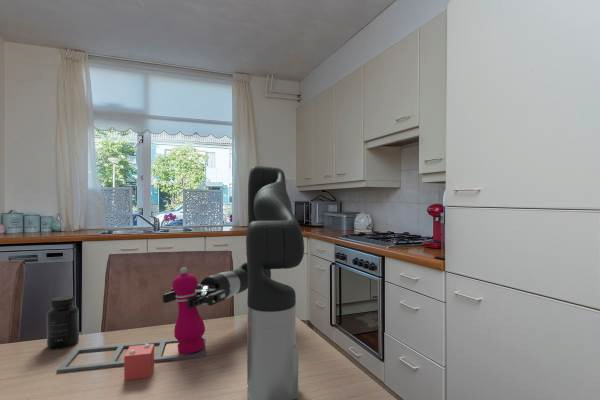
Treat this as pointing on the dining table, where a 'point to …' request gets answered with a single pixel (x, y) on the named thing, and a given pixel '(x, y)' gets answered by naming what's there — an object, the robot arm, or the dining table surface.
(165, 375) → the dining table surface
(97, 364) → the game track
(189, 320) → the pepper mill
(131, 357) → the die
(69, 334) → the supplement bottle
